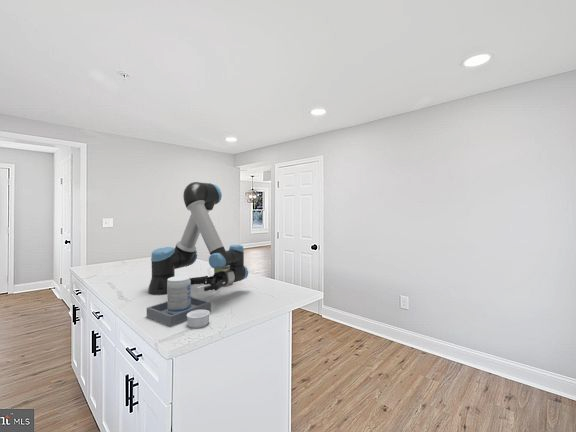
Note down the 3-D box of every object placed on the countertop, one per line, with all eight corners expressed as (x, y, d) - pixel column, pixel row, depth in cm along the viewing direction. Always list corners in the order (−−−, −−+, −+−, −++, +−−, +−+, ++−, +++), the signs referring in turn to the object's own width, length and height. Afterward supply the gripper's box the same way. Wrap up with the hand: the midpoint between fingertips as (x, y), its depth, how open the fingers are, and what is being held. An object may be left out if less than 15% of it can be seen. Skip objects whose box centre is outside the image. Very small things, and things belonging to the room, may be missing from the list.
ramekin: (181, 326, 109) (181, 315, 109) (196, 318, 117) (196, 308, 117) (200, 330, 106) (200, 319, 106) (214, 321, 114) (214, 311, 114)
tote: (146, 317, 118) (146, 307, 118) (186, 303, 135) (186, 295, 135) (170, 326, 109) (170, 316, 109) (210, 310, 125) (210, 302, 125)
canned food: (223, 287, 161) (223, 267, 161) (210, 284, 167) (209, 264, 167) (237, 283, 171) (237, 263, 170) (223, 280, 177) (223, 261, 176)
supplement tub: (193, 312, 120) (193, 278, 120) (169, 317, 115) (169, 282, 115) (187, 306, 129) (187, 274, 128) (165, 310, 123) (165, 277, 123)
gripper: (241, 289, 135) (206, 301, 117) (207, 281, 149) (171, 291, 131) (241, 274, 135) (206, 284, 117) (206, 267, 149) (170, 275, 131)
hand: (187, 288), depth 124 cm, fingers open, 13 cm apart
